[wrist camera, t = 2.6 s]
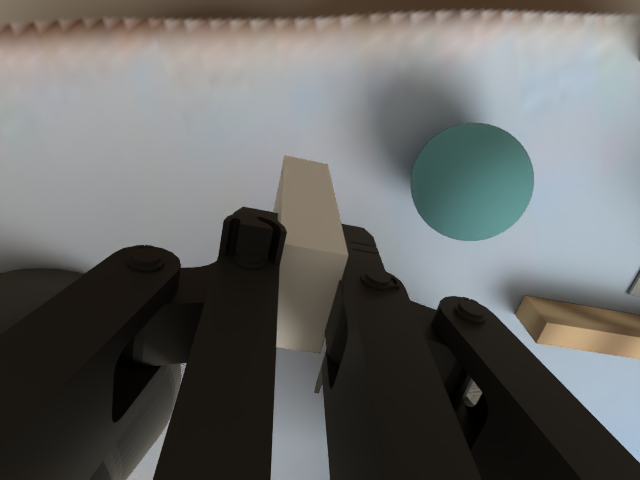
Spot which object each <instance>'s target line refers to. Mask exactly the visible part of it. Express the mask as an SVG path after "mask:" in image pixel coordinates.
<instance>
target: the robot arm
mask: <svg viewBox="0 0 640 480" xmlns="http://www.w3.org/2000/svg"><path fill="white" fill-rule="evenodd" d="M325 337H326V347H327V349H326V352H325V356H324V359H323V363H322V366H321V369H320V373H319V376H318V380H317V383H316V387H315V391H314V393H319V391H320V388H321V386H322V385H323V394H324V407H325V420H326V432H327V445H328V458H329V471H330V480H640V463H639V462H638V461H637V460H636V459H635V458H634V457H633V456H632V455H631V454H630V453H629V452H628V451H627V450H626V449H625V448H624V447H623V446H622V445H621V443H620V442H619V441H618V440H617V439H616V438H615V437H614V436H613V435H612V434H611V433H610V432H609V431H608V430H607V429H606V428H605V427H604V426H603V425H602V424H601V423H600V422H599V421H598V420H597V419H596V418H595V417H594V416H593V415H592V414H591V413H590V412H589V411H588V410H587V409H586V408H585V407H584V406H583V405H582V404H581V403H580V402H579V401H578V399H577V398H576V397H575V396H574V395H573V394H572V393H571V392H570V391H569V390H568V389H567V388H566V387H565V386H564V385H563V384H562V383H561V382H560V381H559V380H558V379H557V378H556V377H555V376H554V375H553V374H552V373H551V372H550V371H549V370H548V369H547V368H546V367H545V366H544V365H543V364H542V363H541V362H540V361H539V360H538V359H537V358H536V357H535V356H534V354H533V353H532V352H531V351H530V350H529V349H528V348H527V347H526V346H525V345H524V344H523V343H522V342H521V341H520V340H519V339H518V338H517V337H516V336H515V335H514V334H513V333H512V332H511V331H510V330H509V329H508V328H507V327H506V326H505V325H504V324H503V323H502V322H501V321H500V320H499V319H498V318H497V317H496V316H495V315H494V314H493V313H492V312H491V311H490V310H488V309H487V308H486V307H484V306H482V305H481V304H479V303H478V302H477V301H474V300H472V299H470V300H469V298H465V297H456V296H451V297H445V298H443V299H442V300H441V301H440V303H439V306H438V308H437V310H435V309H432V308H429V307H426V306H423V305H421V304H418V303H415V302H413V301H411V300H410V299H409V296H408V294H407V291H406V289H405V287H404V285H403V284H402V282H401V281H400V280H399V279H397V278H396V277H395V276H393V275H392V274H390V273H388V272H386V271H385V269H384V266H383V263H382V260H381V258H380V255H379V252H378V249H377V248H376V243H375V241H374V238H373V236H372V235H371V234H369V233H368V232H367V231H366V230H365V229H364V228H361V227H356V226H350V225H345V224H341V220H340V216H339V212H338V207H337V203H336V198H335V194H334V190H333V185H332V181H331V177H330V172H329V168H328V164H324V163H319V162H314V161H309V160H305V159H300V158H295V157H290V156H284V161H283V166H282V171H281V176H280V181H279V186H278V191H277V196H276V201H275V206H274V211H273V212H269V211H263V210H258V209H253V208H247V207H242V208H241V209H239V210H237V211H236V212H234V214H233V215H230V216H228V217H227V218H226V219H225V220H224V223H223V229H222V236H221V242H220V249H219V256H218V259H217V261H216V262H214V263H212V264H210V265H206V266H202V267H193V268H181V264H180V260H179V258H178V257H177V256H176V255H174V254H173V253H172V252H170V251H167V250H165V249H163V248H158V247H154V246H149V245H145V246H144V245H137V246H133V247H127V248H123V249H121V250H119V251H117V252H115V253H113V254H112V255H110V256H109V257H108V258H106V259H105V260H103V261H102V262H101V263H99V264H98V265H96V266H95V267H94V268H92V269H91V270H90V271H88V272H87V273H85V274H84V275H83V274H79V273H75V272H70V271H64V270H56V269H22V270H15V271H10V272H5V273H1V274H0V480H126V479H127V478H128V477H129V475H130V474H131V473H132V471H133V470H134V469H135V468H136V466H137V465H138V464H139V462H140V461H141V460H142V458H143V457H144V456H145V454H146V453H147V452H148V451H149V449H150V448H151V447H152V445H153V444H154V443H155V441H156V440H157V439H158V437H159V436H160V435H161V433H162V432H163V430H164V429H165V427H166V425H167V423H168V421H169V419H170V417H171V419H170V423H169V426H168V430H167V433H166V436H165V440H164V443H163V447H162V450H161V453H160V457H159V460H158V464H157V467H156V470H155V474H154V477H153V480H270V478H271V455H272V432H273V409H274V386H275V363H276V347H279V348H285V349H292V350H299V351H306V352H313V353H321V349H322V346H323V342H324V339H325ZM180 363H187V365H186V368H185V372H184V375H183V378H182V382H181V385H180V381H181V366H180ZM473 381H474V382H475V384H476V385H477V386H478V387H479V389H480V390H481V391H482V394H481V396H480V398H479V400H478V402H477V403H476V405H474V404H473V403H472V402H471V401H470V400H469V398H468V397H467V394H468V392H469V390H470V387H471V385H472V383H473ZM179 387H180V389H179ZM178 390H179V392H178ZM177 394H178V395H177ZM176 397H177V399H176ZM175 401H176V402H175ZM174 404H175V406H174ZM173 408H174V409H173ZM172 411H173V413H172ZM171 414H172V416H171Z"/></svg>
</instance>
